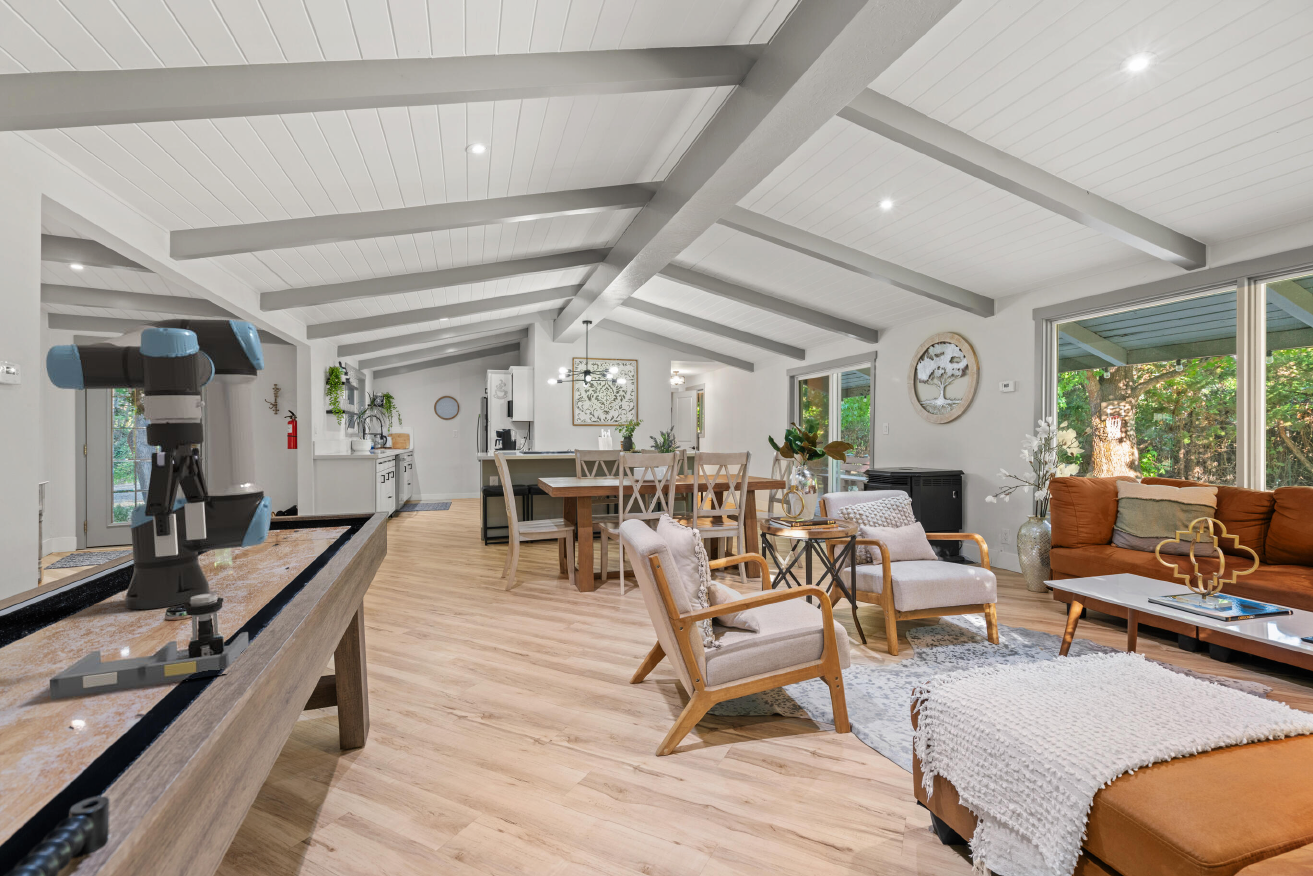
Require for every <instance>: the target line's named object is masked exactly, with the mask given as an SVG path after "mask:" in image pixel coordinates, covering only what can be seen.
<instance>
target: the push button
mask: <svg viewBox="0 0 1313 876" xmlns="http://www.w3.org/2000/svg"><path fill="white" fill-rule="evenodd" d="M190 599H191V601H190V602H187V603H184V605H183V609H185V614H186V615H187V616H191V630H192V631H191V634H192V636H191V637H190V641H189V643H188V645H187V648H186V649H181V650H177V652H176V653H179V652H186V651H188V652H189V654H186V655H182V657H188V656H189V659H190V658H197V657H205V656H212V655H219V654H222V653H223V652H224V646H225V642H224V639H225V638H224V635H222V632H221V631H219V630H220V629H219V614H218V613H219V611H220V610H222V609H223V603H224V598H223V597H218V594H217V593H214V592H213V593H211V592H209V593H208V594H201V595H197V596H194V597H191V598H190ZM197 618H198V619H197ZM197 620H198V621H197ZM177 658H181V656H177Z"/></svg>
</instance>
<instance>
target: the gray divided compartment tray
mask: <svg viewBox="0 0 1313 876" xmlns="http://www.w3.org/2000/svg"><path fill="white" fill-rule="evenodd" d="M248 645H250V643H249V632H248V631H245V632H241V633H240V634H239V635H238V636H237V637H236V638H235V639H234V640H233V641H231V643H230V644H229V645H224V652H223V653H222V654H219V655H212V656H205V657H197V658H190V659H189V656H188V657H182V655H186V654H189V652H188V651H186V652H180V651H179V653H176V652H177V651H178V645H177V640H173V641H172V640H171V641H169V642H168V643H166V644H165V645H164V646H162V648H160V649H158V650H157V651H156V652H155V653H154V654H153V655H149V656H146V655H145V656H140V657H139V656H138V657H132V658H131V657H130V658H124V659H116V660H110V661H102V660H101V659H102V657H101V650H93V651H91V652H89V653H88V654H86V655H85V656H84V657H82V658H80V659H79V660H78V661H76V662H74V663H73V664H71V665H69V666H68V667H67V668H65V669H64V670H63V671H60V672H59V673H58V674H56V675H54V676H53V677H51V678H50V679H49V693H50V700H51V701H54V700H62V699H67V698H73V697H74V696H75V697H82V696H88V695H89V696H90V695H95V694H101V693H102V694H103V693H108V692H110V693H111V692H116V691H122V690H130V689H137V688H145V687H152V686H158V685H164V684H170V683H171V684H172V683H179V682H183V681H182V680H184V679H186V678H188V677H189V676H190V675H192V674H194V673H198V672H202V671H208V670H220V669H225V668H227V667H228V666H229V665H230V664H231V663H232V662H233V661H234V660H235V658H236V657H238V656H239V655H240V653H241V652H242V651H243V650H244V649H245V648H246V647H247V646H248ZM177 656H181V658H177ZM75 697H74V698H75Z"/></svg>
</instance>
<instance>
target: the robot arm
mask: <svg viewBox="0 0 1313 876" xmlns="http://www.w3.org/2000/svg"><path fill="white" fill-rule="evenodd" d="M45 364H46V367H45V368H46V371H47V372H46V373H47V376H48V378H49V380H50V382H51V383H52V385H54V386H55V387H56V388H58V389H62V390H66V389H67V390H78V391H83V390H108V389H109V390H112V389H113V390H114V389H115V390H117V389H118V390H119V389H124V390H125V389H131V390H132V389H133V390H134V389H136V390H137V389H138V390H142V389H143V391H144V392H143V393H144V396H143V401H144V405H143V406H144V420H147V421H149V422H150V423H148V424H147V425H145V428H146V443H147V446H151V447H160V452H152V453H151V455H150V457H151V468H150V476H149V483H148V489H147V490H148V491H147V499H146V503H144V504H140V505H137V506H136V507H134V508H133V509H132V511H131V515H130V516H131V520H130V521H131V524H130V527H129V528H130V530H131V542H132V543H131V544H132V545H131V546H132V557H133V574H132V578H131V579H130V583H129V585H128V588H127V591H126V595H125V597H124V599H125V607H126V608H127V609H129V610H151V609H160V608H168V607H172V606H177V605H182V604H186V603H189V602H190V601H191V599H190V598H191V597H194V596H197V595H201V594H208V593H210V585H209V582H208V580H207V578H206V575H205V573H204V571H203V569H202V567H201V565H200V563H199V552H207V551H216V550H225V549H235V548H242V549H243V548H246V547H247V548H248V547H252V546H259V545H261V544H264V542H265V541H266V540H267V538H268V534H269V530H270V527H271V518H272V508H273V507H272V498H271V497H270V496H267V495H264V494H265V493H264V489H263V488H262V486H260V485H258V484H257V483H256V482H257V481H256V469H255V467H256V465H255V450H254V449H255V447H254V446H255V445H254V431H253V429H254V428H253V412H252V410H253V409H252V408H253V407H252V395H251V394H252V393H251V392H252V391H251V386H252V383H253V382H255V381H256V380H257V379H258V371H263V370H264V369H265V360H264V353H263V348H262V343H261V340H260V337H259V333H258V331H257V328H256V327H255V325H254V324H253V323H251V322H249V321H242V320H232V319H191V318H170V319H168V318H167V319H163V320H162V319H161V320H157V321H152V322H151V321H150V322H146V323H144V324H139V325H135V326H132V327H130V328H129V329H127V330H125V331H124V332H123V333H122V335H119V336H116V337H113V338H109V339H106V340H103V341H100V342H97V343H92V344H82V345H81V344H75V343H73V344H72V343H71V344H61V345H60V344H57V345H53V346H52V347H50V348H49V350H48V352H47V355H46V360H45ZM205 386H206V397H207V400H206V401H207V414H208V432H209V449H210V450H209V451H210V453H209V454H210V465H211V466H210V467H211V484H212V485H211V487H210V488H209V489H208V487H207V484H206V479H205V475H204V474H205V473H204V471H203V467H202V464H201V457H200V449H199V448H198V447H192V445H200V444H203V443H204V441H205V440H204V427H203V426H204V424H202V422H198V420H201V419H202V417H203V416H202V415H203V414H202V413H203V411H202V408H203V407H205V405H206V403H205V401H203V400H202V399H201V388H203V387H205ZM179 486H180V488H181V490H182V493H183V495H184V496H180V497H179V496H178V497H177V495H178V494H177V493H178V491H179Z"/></svg>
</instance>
